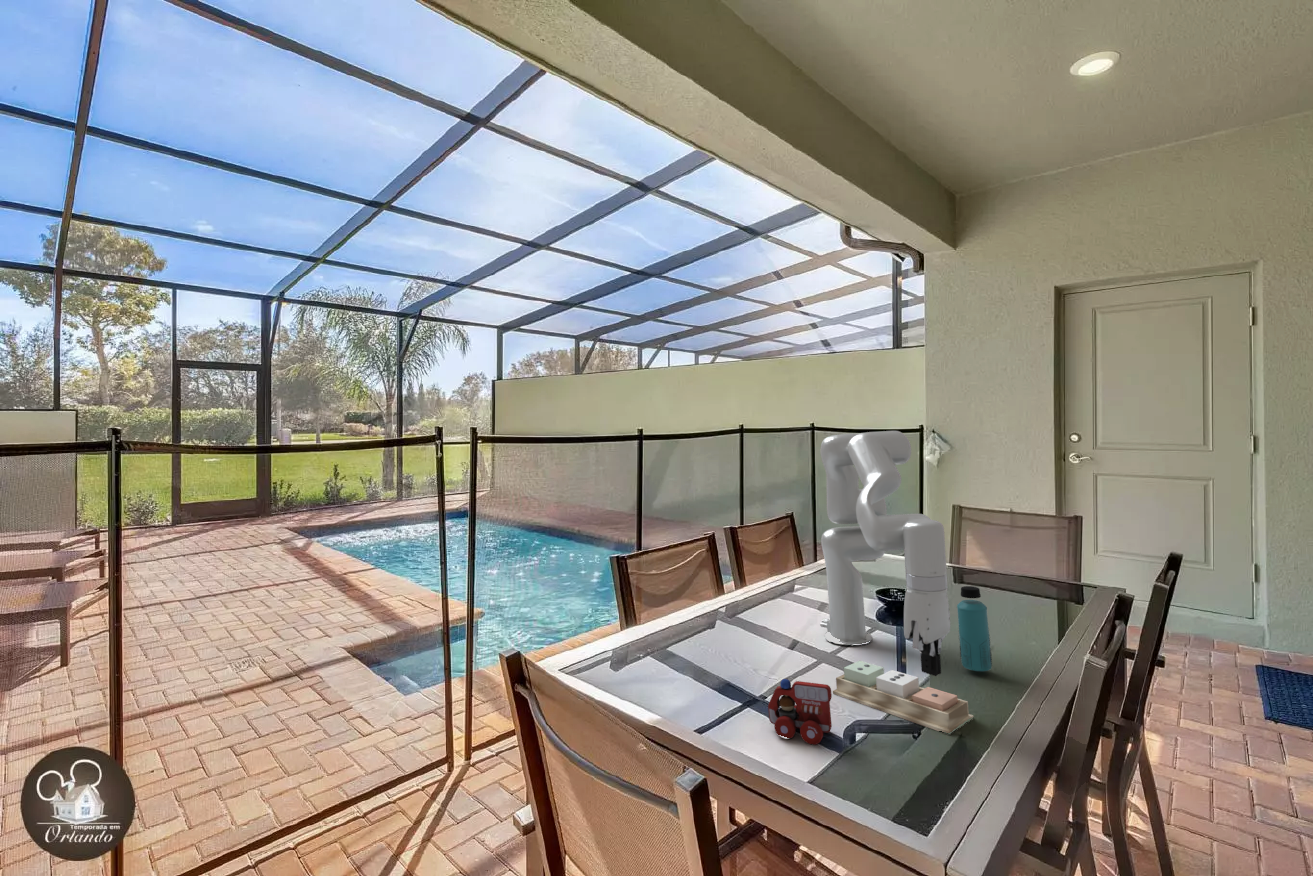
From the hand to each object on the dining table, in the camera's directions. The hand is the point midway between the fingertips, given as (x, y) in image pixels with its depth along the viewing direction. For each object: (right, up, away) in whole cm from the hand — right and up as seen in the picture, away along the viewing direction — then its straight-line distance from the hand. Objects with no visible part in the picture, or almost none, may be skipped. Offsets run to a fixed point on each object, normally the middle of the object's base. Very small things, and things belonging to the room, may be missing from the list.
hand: (931, 672), depth 117 cm
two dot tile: (-9, -7, +12) cm, 17 cm away
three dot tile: (-4, -7, +5) cm, 10 cm away
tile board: (-4, -9, +5) cm, 11 cm away
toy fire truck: (-27, -11, -4) cm, 29 cm away
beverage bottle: (+20, -8, +20) cm, 29 cm away
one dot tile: (0, -8, -1) cm, 8 cm away
